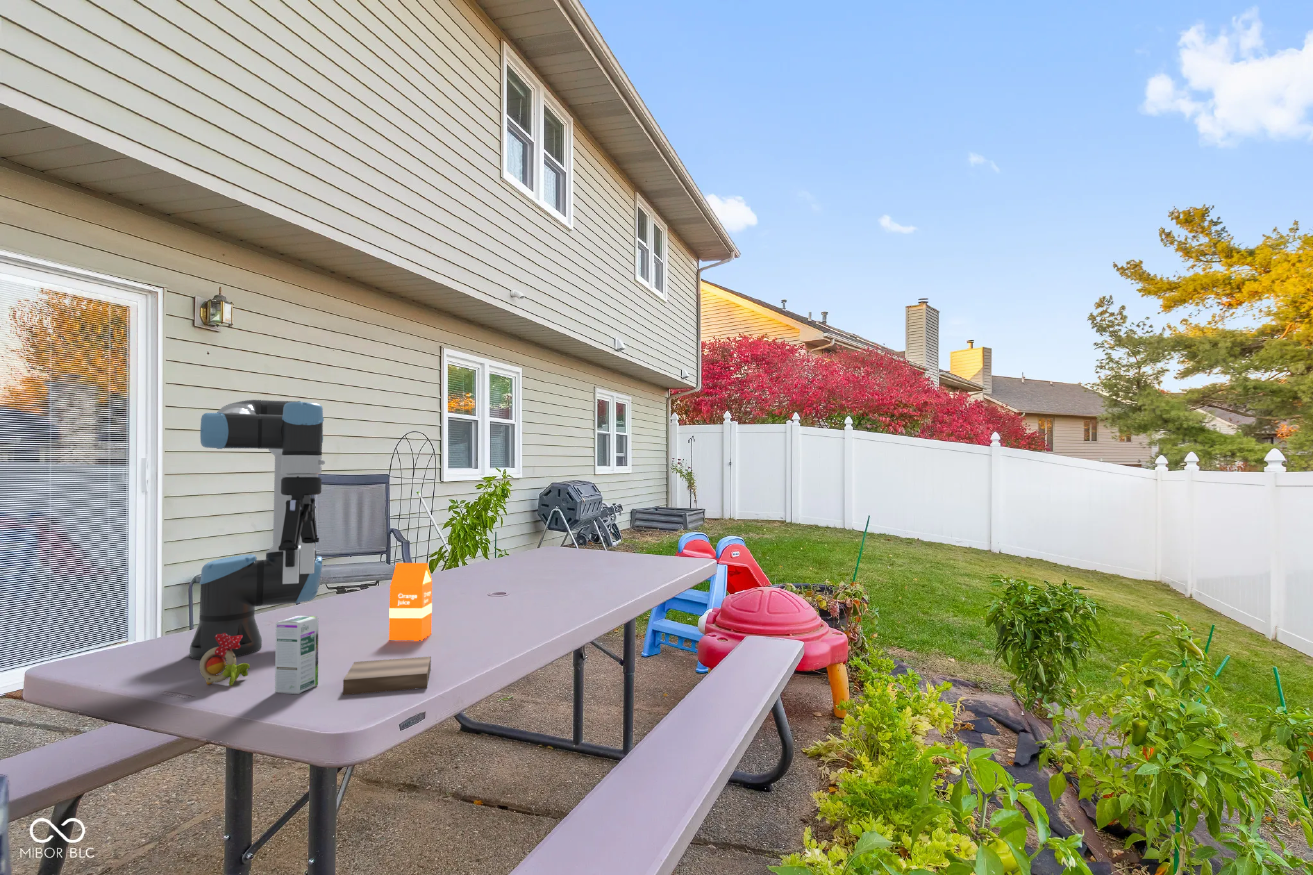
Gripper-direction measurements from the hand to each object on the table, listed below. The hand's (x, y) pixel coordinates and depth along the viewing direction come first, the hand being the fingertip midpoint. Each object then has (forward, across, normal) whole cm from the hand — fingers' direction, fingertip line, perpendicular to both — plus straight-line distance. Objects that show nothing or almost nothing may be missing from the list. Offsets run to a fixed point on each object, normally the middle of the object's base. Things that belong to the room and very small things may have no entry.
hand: (299, 578), depth 139 cm
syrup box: (+23, 0, 0) cm, 23 cm away
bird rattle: (+23, +8, +16) cm, 29 cm away
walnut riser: (+23, 0, -18) cm, 29 cm away
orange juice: (+23, +39, -19) cm, 49 cm away
